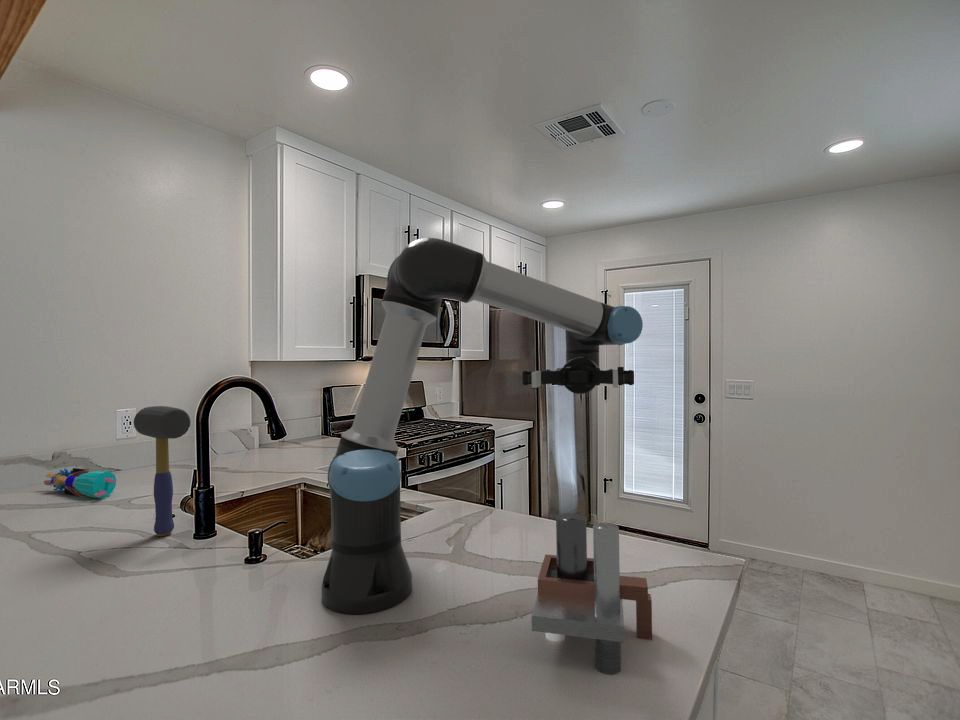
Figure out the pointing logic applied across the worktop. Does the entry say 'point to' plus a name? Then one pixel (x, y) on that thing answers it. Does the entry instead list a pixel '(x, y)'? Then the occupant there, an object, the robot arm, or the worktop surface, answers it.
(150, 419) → the rubber mallet
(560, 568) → the pin
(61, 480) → the toy
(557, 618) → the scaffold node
